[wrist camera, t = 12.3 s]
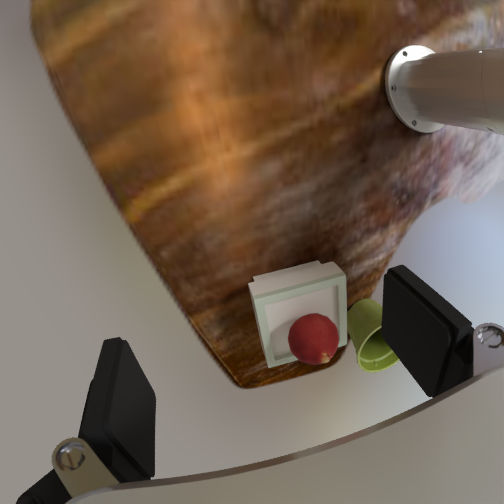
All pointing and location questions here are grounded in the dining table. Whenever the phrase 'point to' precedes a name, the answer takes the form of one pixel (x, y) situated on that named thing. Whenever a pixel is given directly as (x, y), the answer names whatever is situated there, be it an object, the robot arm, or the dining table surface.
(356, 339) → the plant pot
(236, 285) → the dining table surface
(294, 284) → the pedestal
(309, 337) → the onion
